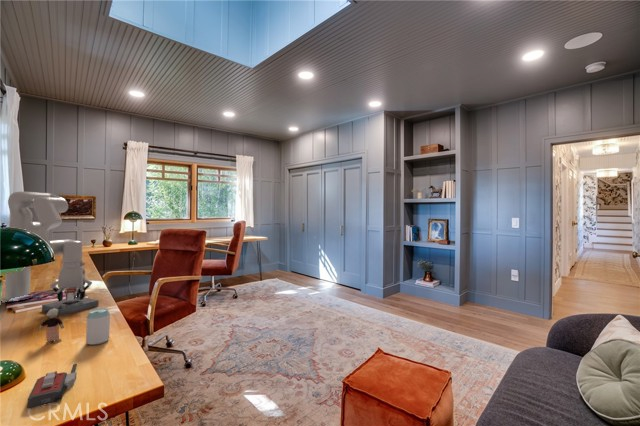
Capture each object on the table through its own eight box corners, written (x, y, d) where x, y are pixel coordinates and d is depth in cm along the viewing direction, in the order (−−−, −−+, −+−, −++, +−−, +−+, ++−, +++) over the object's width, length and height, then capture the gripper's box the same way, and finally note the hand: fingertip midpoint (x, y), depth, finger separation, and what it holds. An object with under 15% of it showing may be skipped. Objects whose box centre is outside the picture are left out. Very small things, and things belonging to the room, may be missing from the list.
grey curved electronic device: (66, 296, 167) (74, 279, 169) (76, 297, 170) (84, 280, 172) (66, 303, 154) (75, 284, 157) (77, 304, 157) (85, 286, 160)
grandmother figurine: (66, 338, 114) (67, 306, 113) (62, 342, 110) (63, 309, 110) (40, 341, 110) (41, 308, 110) (36, 346, 107) (36, 311, 107)
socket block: (42, 311, 143) (42, 304, 143) (78, 301, 157) (79, 296, 157) (62, 315, 137) (62, 309, 137) (98, 305, 152) (98, 300, 152)
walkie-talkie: (70, 401, 77) (79, 367, 94) (70, 385, 77) (79, 354, 94) (24, 413, 72) (42, 375, 89) (24, 396, 72) (42, 361, 89)
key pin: (67, 307, 148) (68, 288, 148) (77, 306, 150) (77, 287, 150) (64, 310, 145) (64, 290, 145) (74, 309, 146) (75, 289, 146)
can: (110, 342, 111) (111, 311, 111) (87, 347, 106) (87, 315, 106) (107, 336, 116) (108, 306, 116) (85, 341, 112) (85, 310, 112)
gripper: (95, 263, 154) (94, 296, 154) (53, 264, 147) (52, 299, 147) (91, 265, 147) (90, 300, 147) (46, 267, 140) (45, 303, 140)
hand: (71, 299), depth 147 cm, fingers open, 8 cm apart
